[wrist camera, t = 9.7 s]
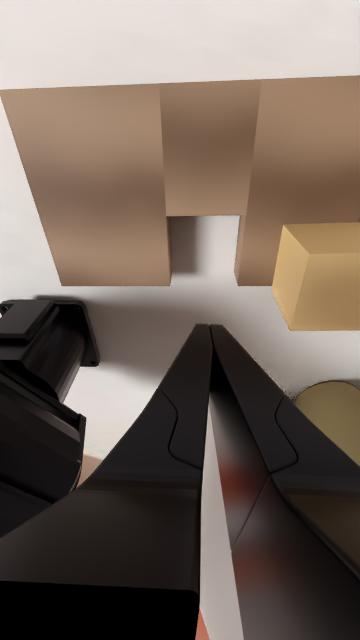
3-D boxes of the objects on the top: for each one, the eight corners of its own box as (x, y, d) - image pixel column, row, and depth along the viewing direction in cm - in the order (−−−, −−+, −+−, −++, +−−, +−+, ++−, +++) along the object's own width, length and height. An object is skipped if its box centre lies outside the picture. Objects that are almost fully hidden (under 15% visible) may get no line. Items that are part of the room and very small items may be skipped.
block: (338, 289, 16) (373, 330, 13) (271, 290, 17) (289, 330, 13) (361, 222, 14) (411, 251, 11) (283, 224, 14) (309, 254, 11)
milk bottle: (180, 394, 26) (156, 835, 10) (260, 378, 24) (392, 887, 8) (203, 436, 30) (212, 794, 14) (272, 425, 28) (375, 822, 12)
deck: (484, 270, 17) (538, 298, 14) (73, 272, 19) (52, 297, 16) (625, 70, 12) (757, 54, 9) (22, 93, 13) (-24, 86, 10)
